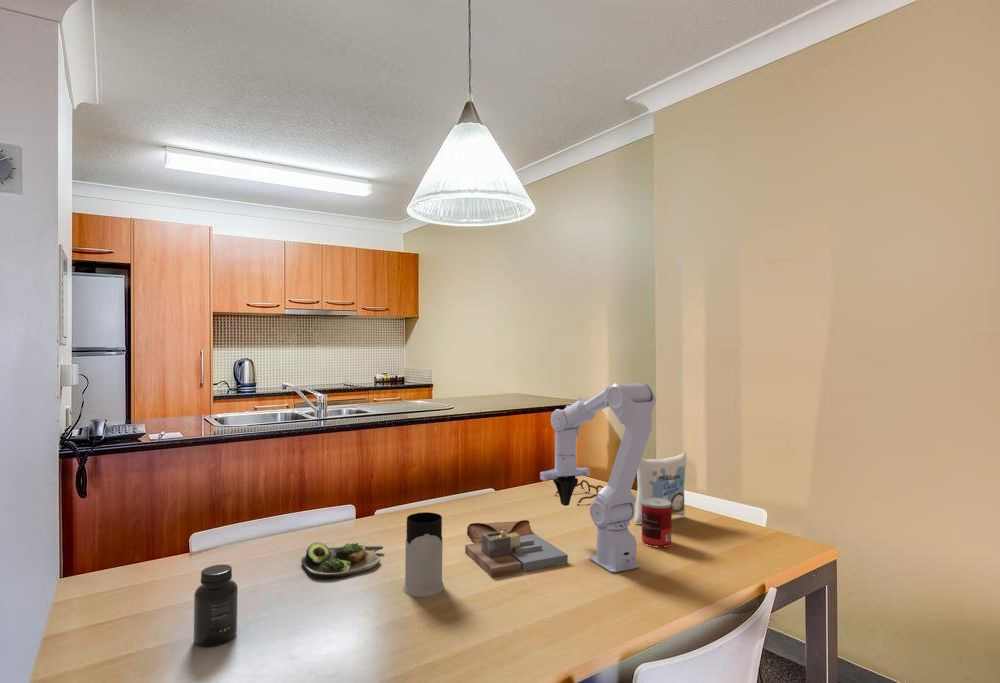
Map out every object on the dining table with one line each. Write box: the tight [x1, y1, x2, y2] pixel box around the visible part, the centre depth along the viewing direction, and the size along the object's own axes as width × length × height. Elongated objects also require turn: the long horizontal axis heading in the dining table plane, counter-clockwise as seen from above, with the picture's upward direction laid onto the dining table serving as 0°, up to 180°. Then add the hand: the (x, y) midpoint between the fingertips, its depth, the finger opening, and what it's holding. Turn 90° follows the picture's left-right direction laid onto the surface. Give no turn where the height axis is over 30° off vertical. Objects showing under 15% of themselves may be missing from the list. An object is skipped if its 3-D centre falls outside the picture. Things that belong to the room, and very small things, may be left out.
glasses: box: [555, 479, 605, 503], centre depth 190 cm, size 13×13×5 cm
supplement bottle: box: [193, 563, 239, 648], centre depth 98 cm, size 7×7×12 cm
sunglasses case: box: [466, 519, 534, 544], centre depth 150 cm, size 18×7×7 cm
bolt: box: [490, 530, 520, 552], centre depth 134 cm, size 2×7×5 cm, turn 115°
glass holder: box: [402, 511, 445, 598], centre depth 121 cm, size 9×14×15 cm, turn 15°
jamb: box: [464, 531, 522, 578], centre depth 133 cm, size 16×7×6 cm, turn 25°
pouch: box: [634, 451, 687, 524], centre depth 165 cm, size 8×19×20 cm, turn 112°
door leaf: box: [510, 533, 569, 572], centre depth 137 cm, size 16×12×3 cm
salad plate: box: [300, 542, 384, 580], centre depth 132 cm, size 19×18×5 cm
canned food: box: [641, 498, 673, 547], centre depth 147 cm, size 8×8×11 cm
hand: (565, 504), depth 149 cm, fingers closed
